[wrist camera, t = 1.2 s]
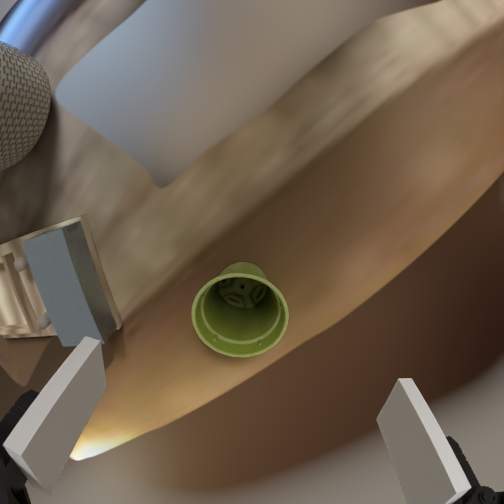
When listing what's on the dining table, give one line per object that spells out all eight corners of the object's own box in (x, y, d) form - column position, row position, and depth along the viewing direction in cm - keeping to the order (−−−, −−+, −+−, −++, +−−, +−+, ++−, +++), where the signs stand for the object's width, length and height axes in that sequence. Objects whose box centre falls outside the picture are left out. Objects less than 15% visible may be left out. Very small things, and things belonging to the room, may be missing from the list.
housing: (76, 331, 38) (63, 346, 34) (40, 233, 34) (21, 241, 30) (117, 327, 38) (104, 343, 34) (80, 220, 33) (61, 228, 29)
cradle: (8, 334, 41) (-5, 346, 37) (-23, 254, 37) (-39, 262, 33) (122, 324, 39) (110, 341, 35) (85, 213, 35) (67, 221, 31)
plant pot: (222, 234, 36) (212, 257, 27) (294, 266, 37) (305, 297, 28) (194, 300, 38) (179, 336, 30) (261, 327, 39) (263, 368, 31)
